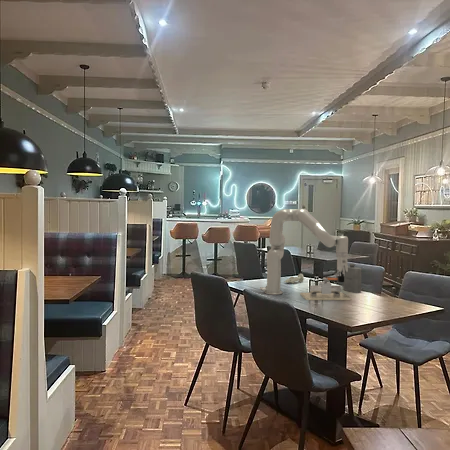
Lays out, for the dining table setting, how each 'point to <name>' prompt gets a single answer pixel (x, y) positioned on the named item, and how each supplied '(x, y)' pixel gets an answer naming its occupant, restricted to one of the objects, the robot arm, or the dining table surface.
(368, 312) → the dining table surface
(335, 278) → the valve lever
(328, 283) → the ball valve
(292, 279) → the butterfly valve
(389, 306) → the dining table surface
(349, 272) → the flask
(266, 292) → the robot arm
